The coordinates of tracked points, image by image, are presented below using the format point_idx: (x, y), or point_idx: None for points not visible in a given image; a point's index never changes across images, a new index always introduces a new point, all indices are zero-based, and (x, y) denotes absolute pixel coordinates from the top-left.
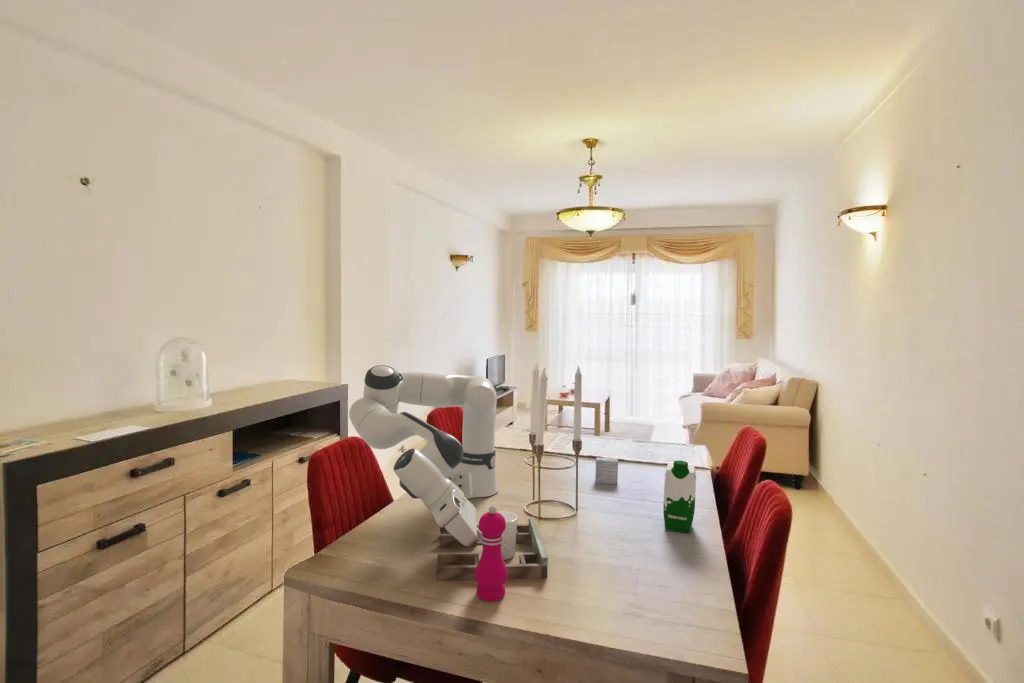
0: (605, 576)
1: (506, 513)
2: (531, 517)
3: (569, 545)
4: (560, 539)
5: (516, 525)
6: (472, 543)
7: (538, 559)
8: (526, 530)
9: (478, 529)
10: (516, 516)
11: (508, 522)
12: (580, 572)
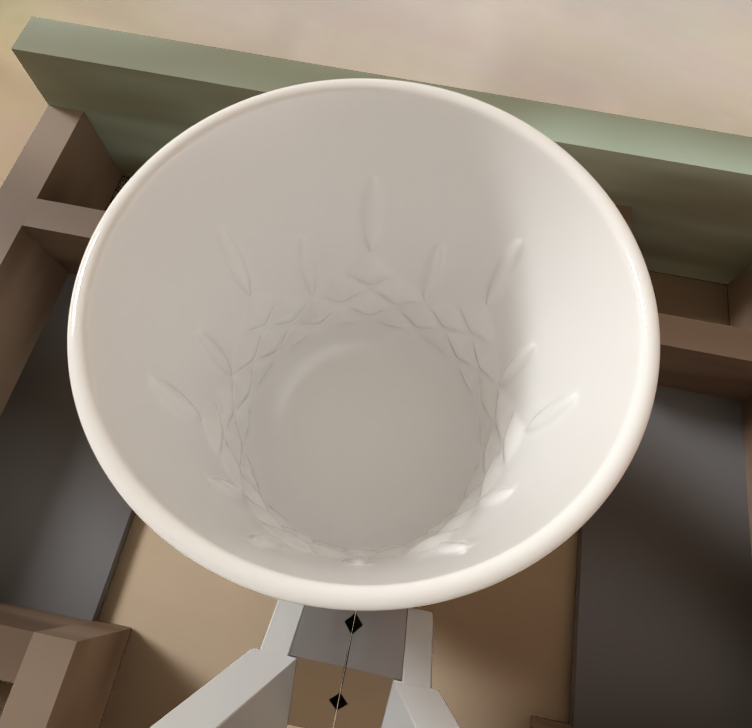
0: (729, 6)
1: (172, 189)
2: (37, 35)
3: (345, 23)
4: (249, 35)
5: (476, 189)
6: (104, 684)
7: (646, 229)
8: (95, 159)
9: (252, 723)
10: (407, 94)
11: (640, 262)
12: (684, 83)
